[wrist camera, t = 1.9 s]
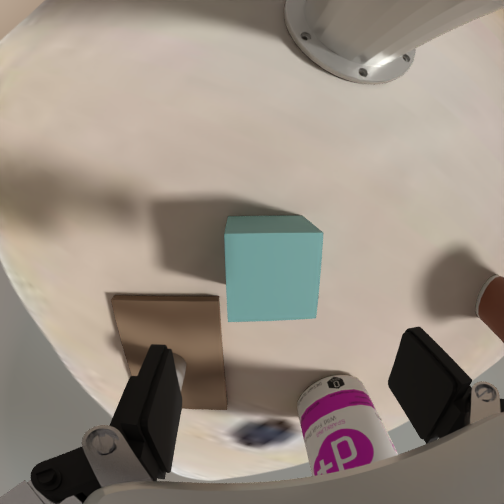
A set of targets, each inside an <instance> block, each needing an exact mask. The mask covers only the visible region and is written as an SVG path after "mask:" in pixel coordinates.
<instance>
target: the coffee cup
mask: <svg viewBox="0 0 504 504" xmlns="http://www.w3.org/2000/svg"><path fill="white" fill-rule="evenodd" d="M476 314H477V316H478V317H479V318H480V319H481V320H482V321H483V322H484V323H485V324H486V325H487V326H488V327H489V328H490V329H491V330H492V331H493V332H494V333H495V334H496V335H497V336H498V337H499V338H500V339H501V340H502V341H503V342H504V278H503V277H501V276H499V275H493V276H492V277H491V278H489V279H488V280H487V281H486V283H485V284H484V286H483V287H482V289H481V291H480V293H479V295H478V298H477V302H476Z"/></svg>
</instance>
